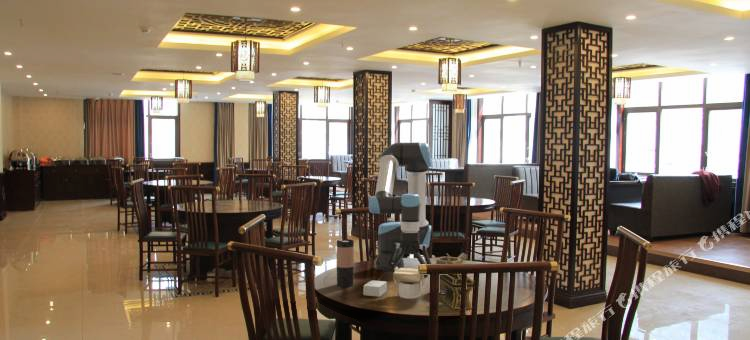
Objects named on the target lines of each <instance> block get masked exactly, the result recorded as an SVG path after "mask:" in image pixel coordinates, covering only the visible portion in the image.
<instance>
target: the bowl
mask: <svg viewBox="0 0 750 340" xmlns="http://www.w3.org/2000/svg"><path fill="white" fill-rule="evenodd" d="M398 295H399V296H398V297H399V298H401V299H406V300H416V299H419V298H420V297H421V282H419V283H417V282H405V281H398Z"/></svg>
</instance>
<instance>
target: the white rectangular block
mask: <svg viewBox="0 0 750 340" xmlns="http://www.w3.org/2000/svg"><path fill="white" fill-rule="evenodd" d="M387 289H388V281H384V280H374V279H372V280H369V281H368V282H367V283H365V284H364V285H363V296H370V297H379V298H380V297H381V296H383V294H385V293H386V292H387V291H388V290H387Z"/></svg>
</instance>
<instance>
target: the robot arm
mask: <svg viewBox="0 0 750 340" xmlns="http://www.w3.org/2000/svg"><path fill="white" fill-rule="evenodd" d="M432 165H433V164H432V154H431V148H430V145H429V143H427V142H394V143H392V144H390V145H388V146H387V147H386V148H385V149H384V150H383V151H381V154H380V156H379V159H378V166H379V169H378V170H379V172H378V176H377V181H376V182H377V183H376V189H375V193H374V195H372V196H369V198H368V212H370V213H371V214H378V215H380V214H381V215H388V214H389V215H391V214H392V215H401V218H400V221H390V222H384V223H381V224H380V225H379V226H378V230H377V231H378V233H377V235H378V237H377V239H378V240H377V241H378V243H377V244H378V246H377V248H378V250H377V251H378V252H377V253H378V254H377V256H376V259H375V261H374V269H375V270H378V271H382V272H391V273H392V274H391V275H392V276H393V273H394V272H395V271H397V270H398V269H399V268H405V262H404V259H403V257H404V255H414V257H416V259H417V261H418V263H419V264H420V265H421V264H426V265H427V264H432V262H431V259H430V256H429V253H428V248H429V246H430V243H431V242H430V241H431V235H432V234H431V233H432V225H430V224H429V221H428V220H427V219H426V218H427V217H426V214H427V213H426V209H427V208H426V201H427V200H426V195H427V193H426V191H427V189H426V186H427V185H426V180H427V179H426V177H427V175H426V174H427V172H429V170H430V168H431V167H432ZM399 167H404V171H405V172H406V173H407V184H408V185H407V191H408V192H407V193H403V194H402V195H401V196H393V192H394V185H395V179H396V170H397V169H398V168H399ZM419 250H422V254H423V257H424V258H423V257H422V256H421V252H419ZM427 278H428V275H422V281H421V287H425V286H426V279H427ZM393 281H394V280H393ZM394 284H395V285H397V284H399V281H394Z"/></svg>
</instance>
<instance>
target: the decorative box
mask: <svg viewBox="0 0 750 340" xmlns="http://www.w3.org/2000/svg"><path fill="white" fill-rule="evenodd" d="M446 256H447V257H448V261H447V264H450V263H451V259H450V257H451V255H450V254H448V253H447V252H446ZM467 259H468V254H466V257H465V258H463V259H462V260H461V261H460V262H459V263H457V264H461V262H462V263H463V262H464V261H465V260H467ZM452 264H456V263H455V262H452ZM466 276H467V289H466V309H465V310H470V309H472V308H471V305H472V304H471V301H470V293H471V291H472V290H473V289H474V288H473V281H474V280H473V279H472V278H471V277H469V276H468V275H466ZM440 279H441V281H442V282H443V284H444V286H445V295H443V298H442V299H441V301H442V300H443V301H444V302H445V303H446V304H445V303H444V302H443V301H442V302H443V303H444V304H445V305H446V306H448V305H449V306H450V307H451V308H450V307H449V306H448V307H449V308H450V309H452V310H454V309H459V308H460V295H461V275H460V274H448V275H440ZM459 310H460V309H459Z"/></svg>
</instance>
